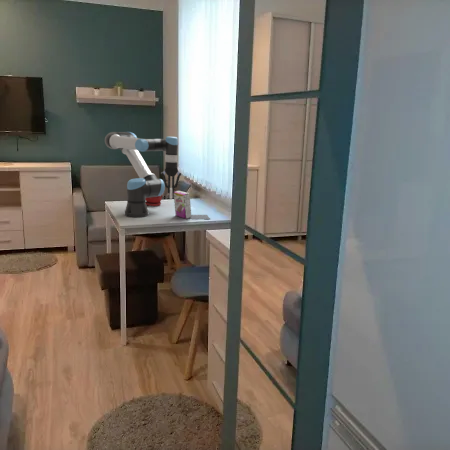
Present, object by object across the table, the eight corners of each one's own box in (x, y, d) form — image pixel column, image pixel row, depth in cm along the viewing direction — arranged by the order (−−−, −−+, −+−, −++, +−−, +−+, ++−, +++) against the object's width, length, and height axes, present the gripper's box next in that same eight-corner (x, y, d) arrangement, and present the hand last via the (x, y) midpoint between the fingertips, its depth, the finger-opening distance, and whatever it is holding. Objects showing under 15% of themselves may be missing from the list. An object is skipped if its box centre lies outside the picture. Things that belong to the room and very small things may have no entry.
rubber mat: (190, 219, 280) (190, 218, 280) (187, 215, 292) (187, 214, 292) (210, 219, 283) (210, 218, 283) (206, 215, 295) (206, 214, 295)
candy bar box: (175, 216, 288) (172, 191, 283) (181, 214, 292) (179, 190, 286) (185, 219, 281) (183, 194, 275) (191, 217, 284) (190, 192, 279)
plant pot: (150, 207, 310) (150, 190, 308) (141, 204, 320) (141, 188, 317) (166, 205, 319) (166, 189, 316) (156, 202, 328) (156, 186, 326)
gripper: (161, 162, 271) (161, 199, 276) (182, 162, 274) (181, 199, 279) (160, 160, 278) (160, 197, 284) (181, 161, 281) (180, 197, 286)
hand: (170, 198), depth 281 cm, fingers closed
